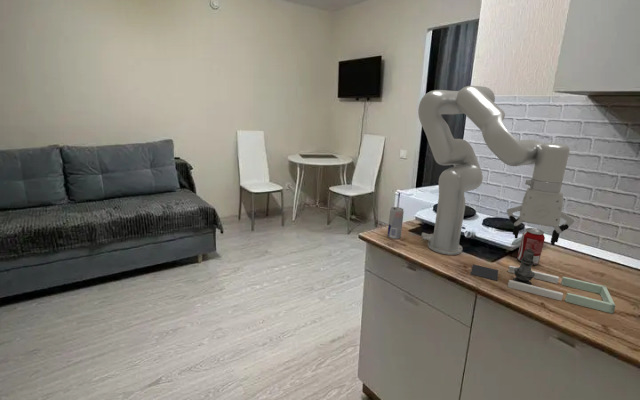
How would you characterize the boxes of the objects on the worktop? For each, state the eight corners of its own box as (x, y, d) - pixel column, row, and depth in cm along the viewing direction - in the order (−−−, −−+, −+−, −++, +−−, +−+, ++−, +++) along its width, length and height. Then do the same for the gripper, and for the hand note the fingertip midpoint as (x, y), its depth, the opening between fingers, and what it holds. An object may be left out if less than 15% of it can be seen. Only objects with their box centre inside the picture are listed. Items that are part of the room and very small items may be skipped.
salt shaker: (522, 287, 107) (530, 252, 103) (507, 278, 112) (515, 244, 109) (537, 285, 109) (546, 250, 105) (521, 276, 114) (529, 243, 110)
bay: (565, 301, 100) (567, 294, 100) (560, 283, 111) (562, 276, 110) (612, 313, 95) (615, 305, 95) (603, 293, 106) (605, 286, 105)
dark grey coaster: (470, 274, 114) (470, 273, 114) (472, 264, 120) (473, 264, 120) (497, 281, 110) (497, 280, 110) (498, 270, 117) (498, 270, 117)
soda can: (541, 267, 121) (549, 235, 117) (520, 264, 122) (527, 233, 119) (534, 258, 127) (541, 228, 124) (514, 256, 128) (521, 226, 125)
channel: (507, 287, 107) (509, 281, 106) (508, 270, 117) (509, 265, 117) (561, 300, 101) (563, 294, 100) (557, 282, 111) (558, 276, 111)
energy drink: (393, 233, 145) (396, 206, 142) (403, 237, 142) (406, 209, 138) (384, 235, 142) (387, 208, 139) (395, 240, 138) (398, 211, 135)
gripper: (512, 184, 102) (501, 238, 106) (583, 193, 94) (569, 251, 99) (512, 180, 108) (502, 231, 113) (579, 187, 100) (566, 242, 105)
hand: (533, 240), depth 106 cm, fingers open, 9 cm apart
